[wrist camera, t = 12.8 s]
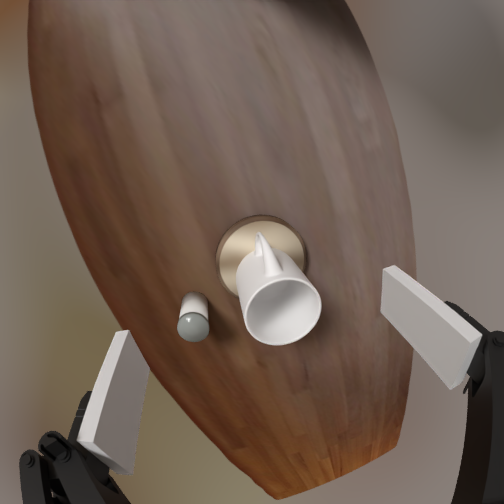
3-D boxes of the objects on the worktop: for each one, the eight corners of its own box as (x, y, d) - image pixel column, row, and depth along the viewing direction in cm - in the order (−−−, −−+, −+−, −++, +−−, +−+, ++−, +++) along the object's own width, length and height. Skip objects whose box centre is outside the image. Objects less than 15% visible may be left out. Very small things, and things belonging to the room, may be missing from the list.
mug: (284, 215, 36) (313, 237, 26) (298, 292, 40) (324, 332, 30) (222, 230, 36) (227, 259, 26) (242, 307, 40) (253, 353, 30)
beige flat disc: (207, 224, 37) (206, 228, 35) (297, 207, 38) (302, 209, 36) (225, 305, 42) (226, 312, 40) (306, 287, 43) (310, 293, 41)
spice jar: (178, 293, 40) (173, 318, 33) (204, 288, 40) (204, 313, 34) (185, 316, 41) (182, 343, 35) (211, 312, 42) (212, 338, 35)
